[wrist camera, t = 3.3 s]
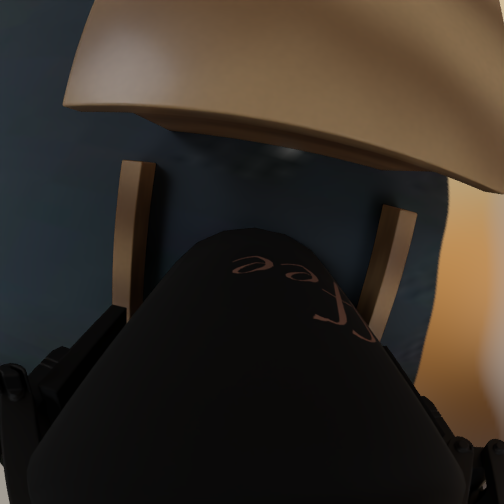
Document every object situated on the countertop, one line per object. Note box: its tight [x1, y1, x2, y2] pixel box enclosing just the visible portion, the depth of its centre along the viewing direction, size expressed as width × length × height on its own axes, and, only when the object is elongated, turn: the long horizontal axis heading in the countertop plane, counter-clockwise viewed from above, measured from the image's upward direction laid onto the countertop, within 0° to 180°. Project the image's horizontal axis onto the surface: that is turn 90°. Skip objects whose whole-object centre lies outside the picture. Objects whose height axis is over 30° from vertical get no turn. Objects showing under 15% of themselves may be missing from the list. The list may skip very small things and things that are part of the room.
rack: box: [63, 0, 504, 342], centre depth 11 cm, size 34×16×12 cm, turn 170°
